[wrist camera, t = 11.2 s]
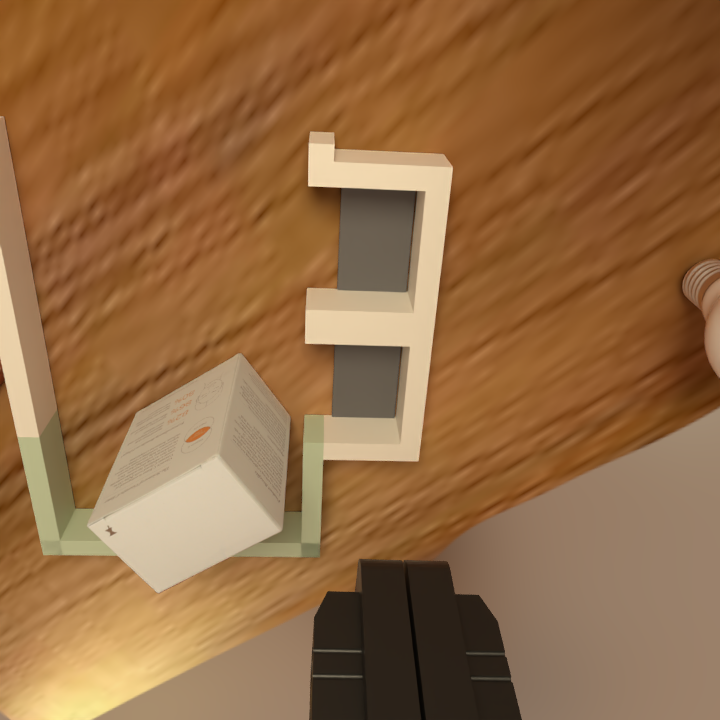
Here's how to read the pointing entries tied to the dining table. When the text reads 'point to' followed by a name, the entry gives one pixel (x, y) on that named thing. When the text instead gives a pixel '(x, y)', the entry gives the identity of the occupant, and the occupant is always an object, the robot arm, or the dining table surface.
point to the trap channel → (323, 326)
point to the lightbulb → (707, 304)
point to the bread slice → (1, 374)
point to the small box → (197, 477)
